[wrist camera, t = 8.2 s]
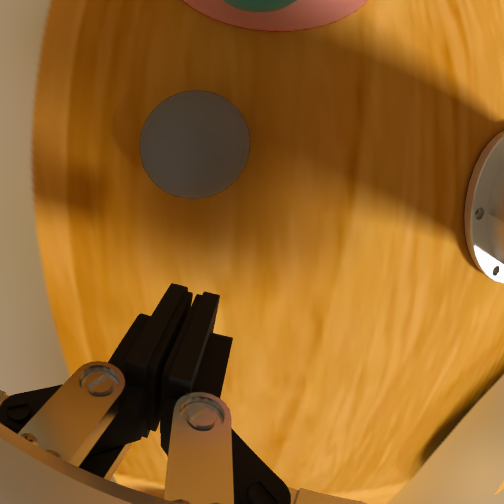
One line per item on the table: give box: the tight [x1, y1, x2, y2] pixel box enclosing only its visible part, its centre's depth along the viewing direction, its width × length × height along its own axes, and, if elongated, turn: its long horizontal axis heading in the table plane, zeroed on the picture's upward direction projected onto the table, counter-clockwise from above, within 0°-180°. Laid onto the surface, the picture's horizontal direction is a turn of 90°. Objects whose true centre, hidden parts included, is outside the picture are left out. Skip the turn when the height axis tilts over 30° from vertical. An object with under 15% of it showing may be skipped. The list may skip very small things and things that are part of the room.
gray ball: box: [139, 90, 250, 199], centre depth 15 cm, size 6×6×6 cm
